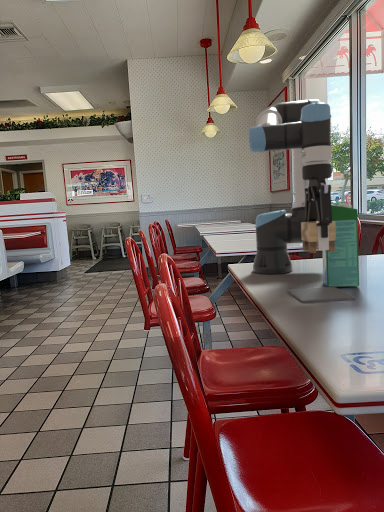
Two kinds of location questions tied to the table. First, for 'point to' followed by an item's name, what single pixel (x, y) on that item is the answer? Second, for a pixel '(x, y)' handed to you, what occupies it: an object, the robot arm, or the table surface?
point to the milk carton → (343, 249)
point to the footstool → (316, 236)
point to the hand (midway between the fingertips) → (318, 248)
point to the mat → (320, 294)
